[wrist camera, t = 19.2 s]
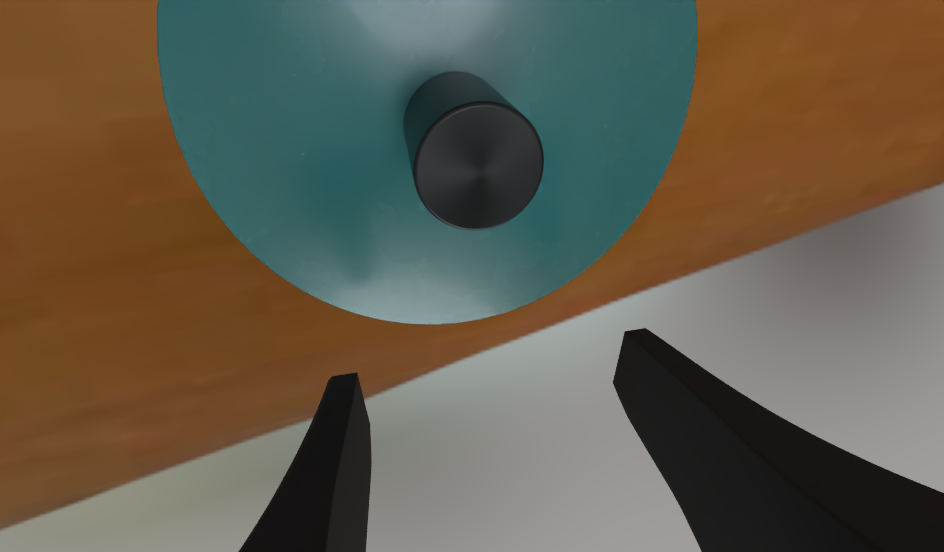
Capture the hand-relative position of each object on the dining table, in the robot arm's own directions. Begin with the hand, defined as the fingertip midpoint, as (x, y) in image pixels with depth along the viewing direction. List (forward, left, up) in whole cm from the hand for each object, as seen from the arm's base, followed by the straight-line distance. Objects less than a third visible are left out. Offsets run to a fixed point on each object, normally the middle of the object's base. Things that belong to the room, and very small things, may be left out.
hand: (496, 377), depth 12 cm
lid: (-5, +4, -4) cm, 7 cm away
